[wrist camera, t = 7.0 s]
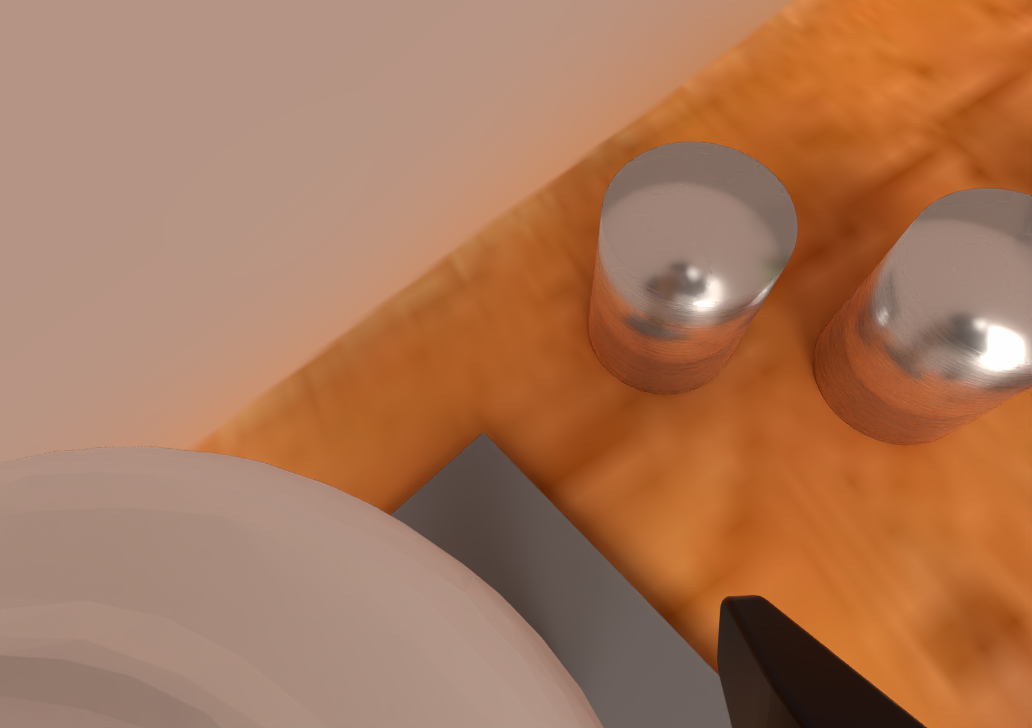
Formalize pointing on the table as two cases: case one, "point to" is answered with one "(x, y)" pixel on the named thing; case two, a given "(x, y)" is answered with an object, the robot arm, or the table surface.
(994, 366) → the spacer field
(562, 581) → the mat
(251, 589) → the sprinkles bottle
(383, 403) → the table surface
